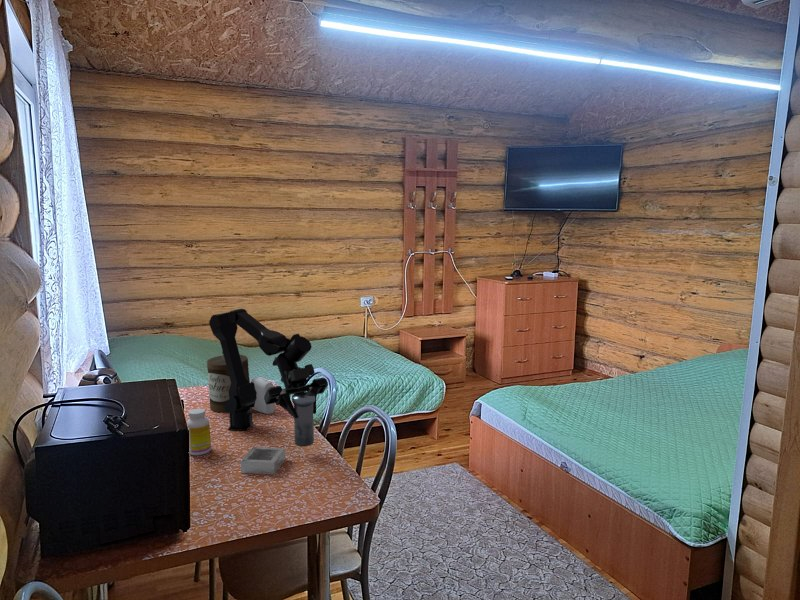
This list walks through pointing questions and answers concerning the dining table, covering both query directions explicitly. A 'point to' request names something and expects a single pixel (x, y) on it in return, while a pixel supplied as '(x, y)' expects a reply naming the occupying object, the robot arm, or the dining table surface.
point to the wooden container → (221, 381)
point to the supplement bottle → (199, 432)
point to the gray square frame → (263, 460)
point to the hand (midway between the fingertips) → (305, 415)
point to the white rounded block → (262, 395)
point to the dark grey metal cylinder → (304, 418)
